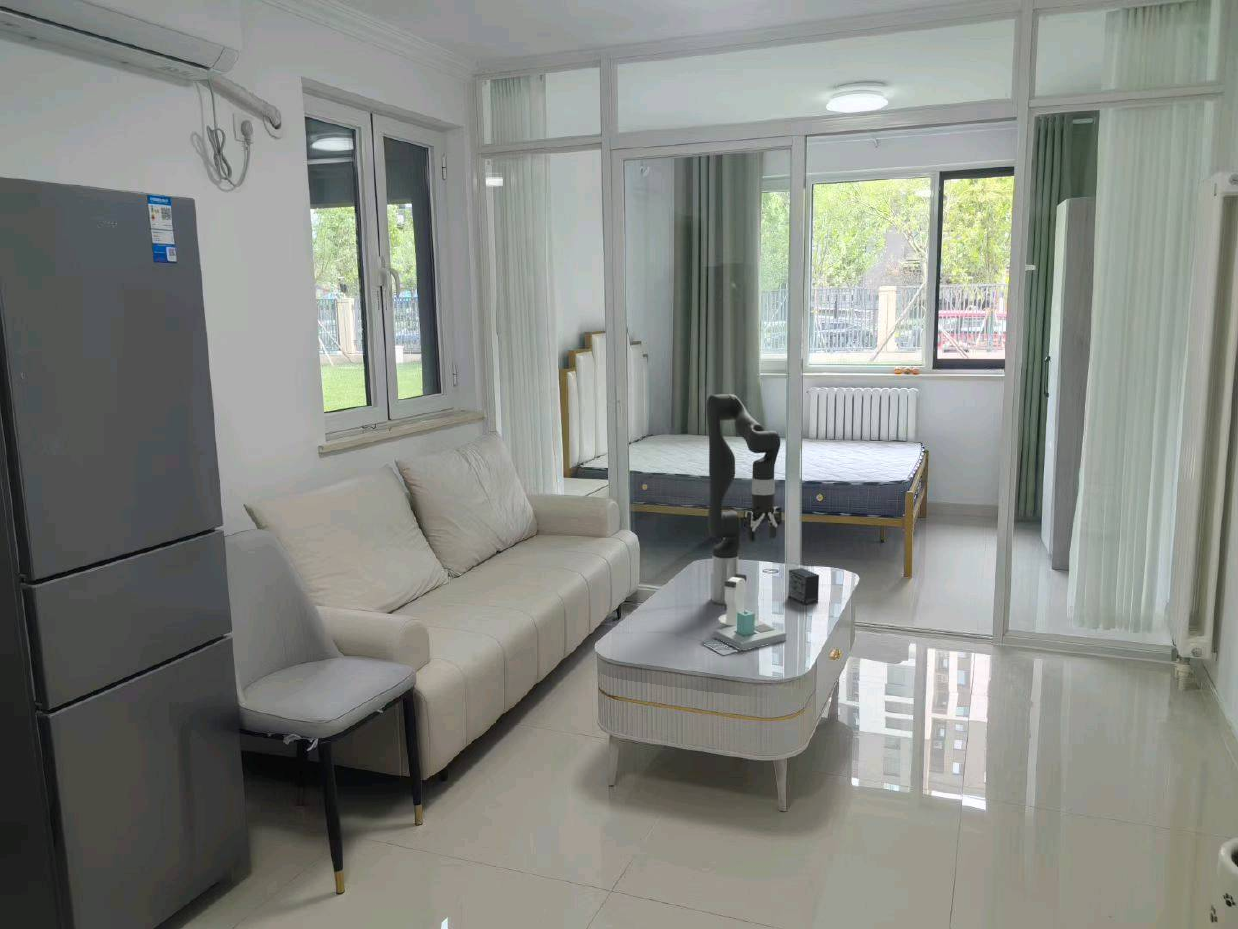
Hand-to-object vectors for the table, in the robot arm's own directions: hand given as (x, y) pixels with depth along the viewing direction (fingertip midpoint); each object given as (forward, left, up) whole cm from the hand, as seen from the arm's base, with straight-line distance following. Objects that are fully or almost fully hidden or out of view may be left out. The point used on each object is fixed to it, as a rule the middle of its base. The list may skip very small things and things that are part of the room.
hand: (762, 539), depth 307 cm
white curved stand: (-10, -3, -30) cm, 32 cm away
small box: (-14, +31, -30) cm, 46 cm away
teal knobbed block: (+7, -12, -30) cm, 33 cm away
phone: (+8, -23, -31) cm, 39 cm away
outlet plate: (+7, -10, -30) cm, 32 cm away
